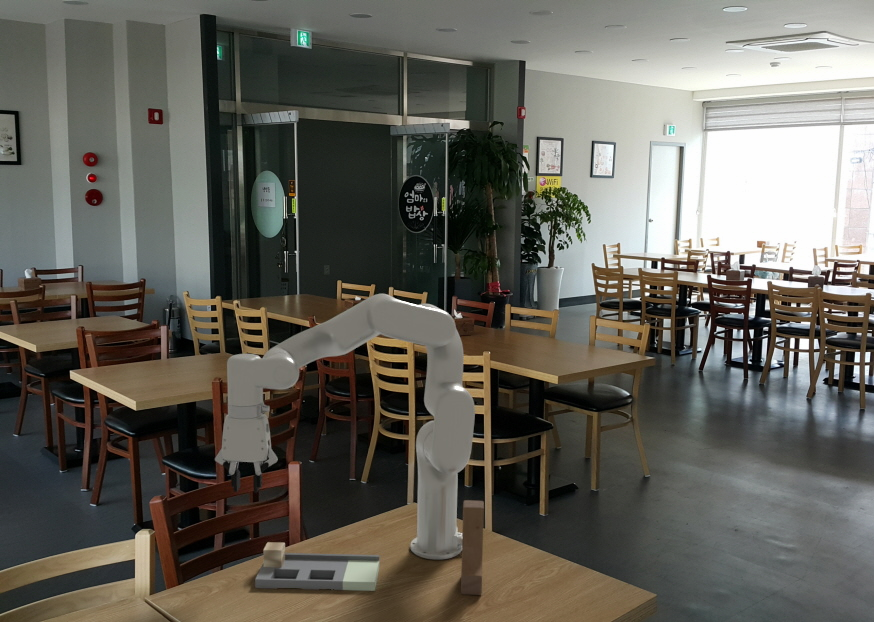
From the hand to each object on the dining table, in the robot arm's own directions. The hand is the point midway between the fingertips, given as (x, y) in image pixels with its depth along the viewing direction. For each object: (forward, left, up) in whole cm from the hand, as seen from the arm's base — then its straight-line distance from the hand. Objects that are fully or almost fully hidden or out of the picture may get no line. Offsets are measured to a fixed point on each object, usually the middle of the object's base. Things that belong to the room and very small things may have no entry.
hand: (246, 489), depth 178 cm
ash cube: (-6, 0, -17) cm, 18 cm away
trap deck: (-17, +2, -19) cm, 25 cm away
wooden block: (-51, +4, -19) cm, 54 cm away
